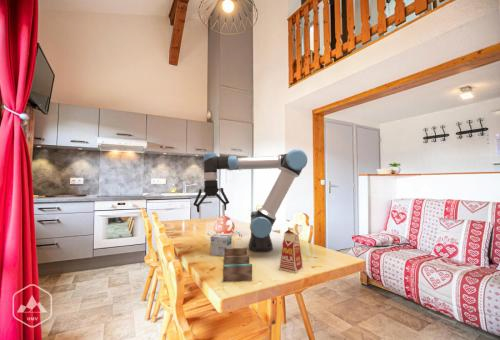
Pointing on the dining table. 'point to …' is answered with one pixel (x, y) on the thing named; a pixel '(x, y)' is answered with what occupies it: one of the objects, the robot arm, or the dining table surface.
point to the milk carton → (291, 252)
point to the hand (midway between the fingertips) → (212, 217)
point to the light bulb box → (220, 244)
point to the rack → (237, 265)
